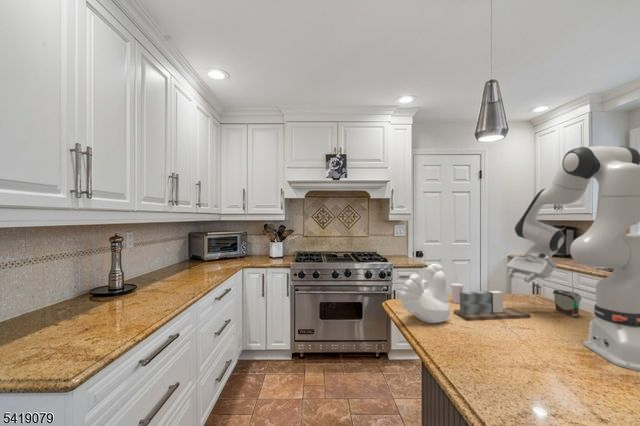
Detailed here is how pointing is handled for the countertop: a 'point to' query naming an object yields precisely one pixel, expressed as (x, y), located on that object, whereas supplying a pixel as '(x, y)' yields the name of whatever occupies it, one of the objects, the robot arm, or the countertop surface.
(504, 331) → the countertop surface
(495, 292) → the white cylinder
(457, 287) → the smoothie
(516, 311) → the stand
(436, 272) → the decorative rooster
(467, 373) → the countertop surface
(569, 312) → the food container
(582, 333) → the countertop surface
